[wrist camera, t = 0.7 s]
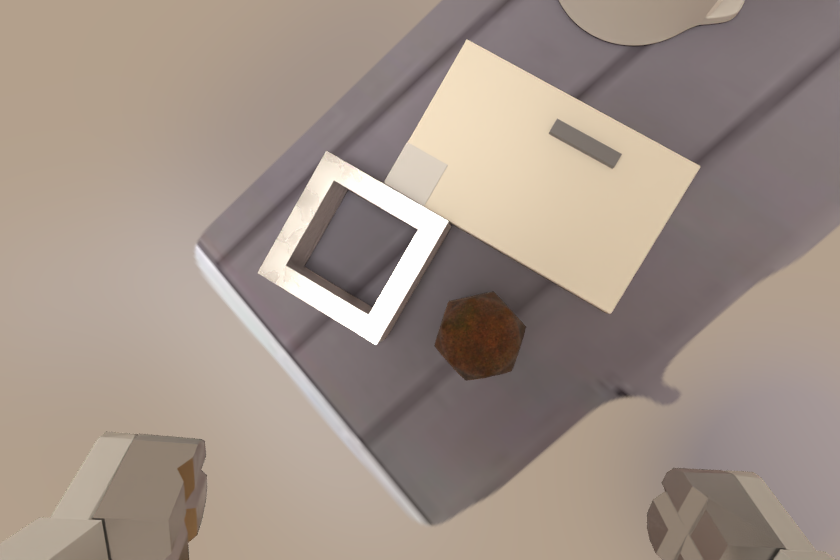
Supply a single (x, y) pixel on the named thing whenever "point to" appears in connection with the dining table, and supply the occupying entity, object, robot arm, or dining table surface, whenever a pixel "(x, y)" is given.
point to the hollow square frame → (309, 227)
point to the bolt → (480, 336)
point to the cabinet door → (541, 176)
